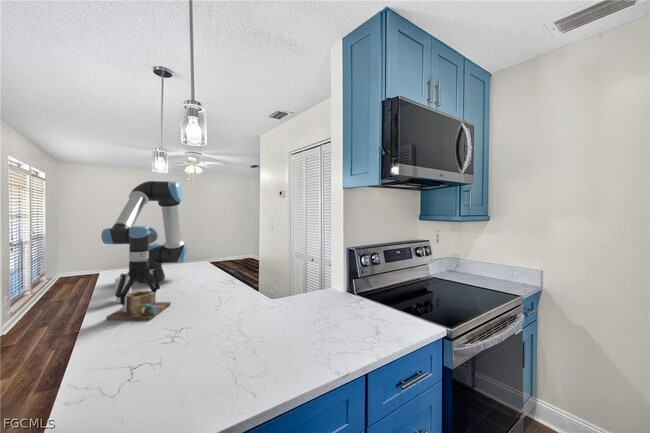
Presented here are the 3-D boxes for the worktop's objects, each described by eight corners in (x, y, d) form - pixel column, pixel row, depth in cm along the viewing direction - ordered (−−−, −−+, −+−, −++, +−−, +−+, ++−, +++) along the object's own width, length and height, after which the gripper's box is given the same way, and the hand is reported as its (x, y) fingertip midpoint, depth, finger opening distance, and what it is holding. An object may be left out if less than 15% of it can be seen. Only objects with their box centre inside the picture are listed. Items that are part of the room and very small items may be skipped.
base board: (132, 304, 139) (132, 301, 139) (170, 305, 140) (170, 302, 140) (106, 320, 121) (106, 316, 121) (149, 320, 122) (149, 316, 122)
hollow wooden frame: (122, 310, 128) (122, 295, 128) (142, 304, 136) (142, 289, 136) (145, 316, 122) (145, 300, 121) (164, 310, 130) (164, 294, 130)
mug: (134, 300, 146) (134, 276, 145) (121, 304, 140) (120, 280, 139) (122, 297, 150) (122, 274, 149) (108, 300, 144) (108, 277, 143)
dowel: (142, 314, 124) (142, 307, 124) (145, 314, 124) (145, 307, 124) (140, 316, 123) (140, 308, 123) (143, 316, 123) (143, 308, 123)
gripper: (111, 265, 118) (111, 317, 119) (168, 258, 136) (167, 303, 137) (106, 262, 123) (105, 312, 124) (161, 255, 141) (161, 300, 142)
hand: (138, 308), depth 131 cm, fingers closed on hollow wooden frame, 10 cm apart
